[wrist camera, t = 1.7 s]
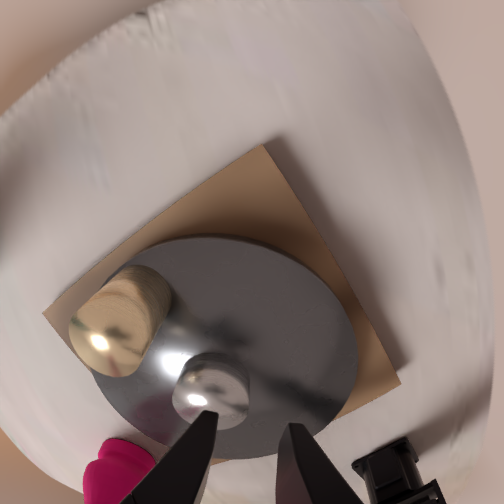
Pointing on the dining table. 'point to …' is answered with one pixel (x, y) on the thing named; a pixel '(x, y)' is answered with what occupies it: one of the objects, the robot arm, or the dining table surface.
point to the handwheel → (219, 342)
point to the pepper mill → (115, 472)
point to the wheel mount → (256, 227)
